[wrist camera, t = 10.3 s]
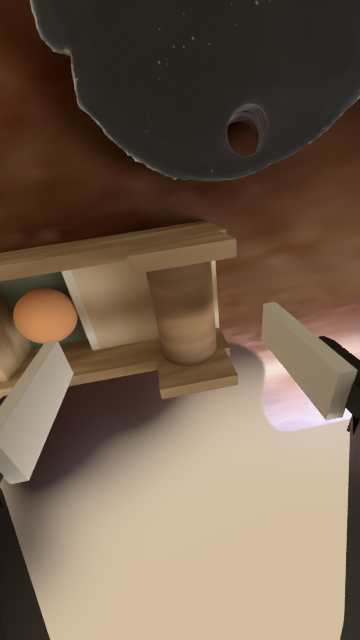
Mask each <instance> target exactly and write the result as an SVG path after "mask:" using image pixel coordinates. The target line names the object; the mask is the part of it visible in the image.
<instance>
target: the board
mask: <svg viewBox="0 0 360 640" xmlns="http://www.w3.org/2000/svg"><path fill="white" fill-rule="evenodd" d="M30 4H31V10H32V13H33V15H34V18H35V23H36V28H37V30H38V32H39V34H40V37H41V39H42V40H43V41H44V42H45V43H46V44H47V45H48V46H49V47H50V48H51V49H52V51H53V52H57V53H60V54H65V55H67V56H70V57H71V68H72V75H73V82H74V90H75V94H76V96H77V104H78V105H79V107H80V108H81V109H82V110H83V111H84V112H86V113H87V114H89V115H90V116H91V118H92V120H94V121H95V122H96V123H97V124H98V125H99V126H100V127H101V128H102V130H103V132H104V134H105V135H107V136H108V137H109V138H110V139H111V140H112V141H114V143H116V144H117V145H118V146H119V147H120V148H121V149H123V150H124V151H125V152H126V153H127V155H128V156H132V158H133V159H134V160H135V161H136V162H140V163H144V164H145V165H146V166H147V167H149V168H151V169H152V170H155V171H158V172H159V173H161V174H163V175H165V176H166V177H167V176H169V177H172V178H173V180H175V179H180V180H198V181H223V180H231V179H236V178H240V177H245V176H248V175H249V174H253V173H255V172H259V171H260V170H262V169H264V168H266V167H267V166H268V165H269V164H272V163H276V162H279V161H281V160H283V159H285V158H287V157H289V156H291V155H293V154H294V153H296V152H297V151H298V150H300V149H301V148H303V147H304V146H306V145H308V144H310V143H311V142H313V141H314V140H315V139H316V138H318V137H319V136H320V135H322V134H323V133H324V132H326V131H327V130H328V129H329V128H330V127H331V126H332V125H333V124H334V123H335V122H336V121H337V120H338V119H339V117H340V116H341V115H343V114H344V112H345V111H346V110H347V109H348V108H349V107H351V106H352V105H353V104H354V103H355V102H357V100H358V99H359V98H360V0H30ZM233 122H244V123H247V124H248V125H249V126H250V127H251V128H252V129H253V131H254V133H255V134H256V136H257V139H258V144H257V148H256V151H255V153H254V154H252V155H249V156H244V157H243V156H240V155H238V154H236V153H235V152H234V151H233V150H232V149H231V147H230V145H229V142H228V139H227V127H228V125H229V124H231V123H233Z"/></svg>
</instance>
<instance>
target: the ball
mask: <svg viewBox="0 0 360 640" xmlns="http://www.w3.org/2000/svg"><path fill="white" fill-rule="evenodd" d="M13 320H14V324H15V326H16V328H17V329H18V331H19V332H20V333H21V334H22V335H23V336H24V337H25V338H27V339H29V340H31V341H33V342H36V343H42V344H44V343H45V342H50V341H56V340H58V341H61V340H63V339H65V338H66V337H67V336H69V335H70V334H71V333H72V331H73V330H74V328H75V326H76V324H77V320H78V313H77V310H76V307H75V305H74V302H73V301H72V300H71V299H70V297H68V296H67V295H66V294H64V293H63V292H61V291H58V290H55V289H51V288H40V289H35V290H32V291H30V292H28V293H26V294H25V295H23V296H22V297H21V298H20V299H19V300H18V302H17V303H16V305H15V308H14V312H13Z"/></svg>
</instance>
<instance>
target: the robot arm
mask: <svg viewBox="0 0 360 640" xmlns="http://www.w3.org/2000/svg"><path fill="white" fill-rule="evenodd" d="M262 340H263V341H264V343H265V344H266V345H267V346H268V348H269V349H270V350H271V351H272V353H273V354H274V355H275V356H276V358H277V359H278V360H279V361H280V363H281V364H282V365H283V367H284V368H285V369H286V370H287V372H288V373H289V374H290V375H291V377H292V378H293V379H294V380H295V382H296V383H297V384H298V385H299V387H300V388H301V389H302V390H303V392H304V393H305V394H306V395H307V397H308V398H309V399H310V400H311V402H312V403H313V404H314V405H315V407H316V408H317V409H318V411H319V412H320V413H321V414H322V416H323V417H324V418H325V419H326V420H330V419H335V418H339V417H343V414H344V411H345V408H347V409H348V411H349V412H350V413H351V414H352V417H351V420H350V423H349V425H348V429H347V431H349V432H350V454H349V485H348V486H349V488H348V518H347V549H346V550H347V552H346V581H345V582H346V583H345V612H344V623H343V629H342V633H341V638H340V640H360V360H359V359H358V358H356V357H355V356H354V355H352V354H351V353H349V351H347V350H346V349H345V348H342V346H341V345H340V344H338V343H337V342H336V341H334V340H332V339H330V338H327V337H325V336H320V337H317V336H316V335H315V334H313V333H312V332H311V331H310V330H309V329H307V328H306V327H305V326H304V325H302V324H301V323H300V322H299V321H298V320H296V319H295V318H294V317H293V316H292V315H290V314H289V313H288V312H287V311H286V310H284V309H283V308H282V307H281V306H280V305H278V304H277V303H276V302H270V303H265V304H263V323H262ZM73 374H74V373H73V371H72V369H71V367H70V365H69V363H68V361H67V359H66V357H65V355H64V353H63V351H62V348H61V346H60V344H59V342H58V340H56V341H50V342H45V343H44V345H43V346H42V347H41V349H40V350H39V352H38V353H37V355H36V356H35V357H34V359H33V360H32V362H31V363H30V364H29V366H28V367H27V369H26V370H25V372H24V373H23V374H22V376H21V377H20V379H19V380H18V382H17V383H16V384H15V386H14V387H13V389H12V390H11V391H10V393H9V394H8V395H6V396H3V397H2V398H1V399H0V482H1V480H2V478H3V477H4V478H5V479H6V480H7V481H8V482H9V483H10V484H13V483H18V482H23V481H28V480H29V479H30V476H31V474H32V471H33V469H34V467H35V465H36V462H37V460H38V457H39V455H40V453H41V450H42V447H43V445H44V443H45V441H46V438H47V436H48V433H49V431H50V429H51V426H52V424H53V421H54V419H55V417H56V414H57V412H58V410H59V407H60V405H61V403H62V400H63V398H64V395H65V393H66V391H67V388H68V386H69V383H70V381H71V379H72V376H73ZM0 640H50V638H49V635H48V632H47V629H46V626H45V623H44V619H43V616H42V613H41V610H40V607H39V604H38V601H37V597H36V594H35V591H34V588H33V585H32V582H31V579H30V576H29V573H28V570H27V566H26V563H25V560H24V557H23V554H22V551H21V547H20V544H19V541H18V538H17V535H16V532H15V529H14V526H13V523H12V520H11V516H10V513H9V510H8V507H7V504H6V501H5V498H4V495H3V492H2V490H1V489H0Z"/></svg>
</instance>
